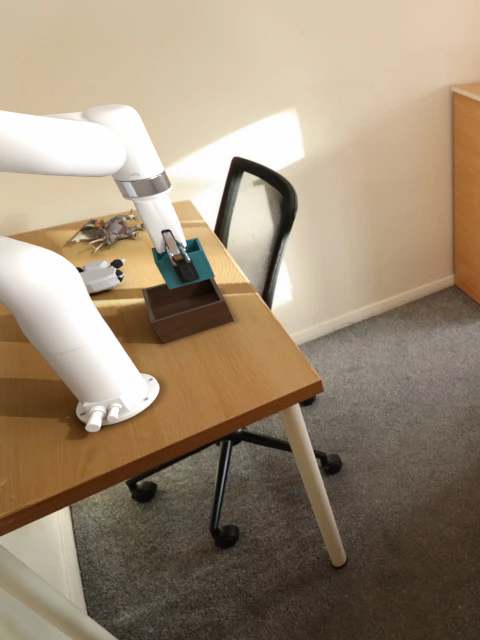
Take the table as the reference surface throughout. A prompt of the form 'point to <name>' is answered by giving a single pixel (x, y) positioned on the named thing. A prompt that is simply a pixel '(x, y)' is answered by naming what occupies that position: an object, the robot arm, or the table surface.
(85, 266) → the robot toy
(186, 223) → the table surface
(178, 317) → the crate
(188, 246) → the box
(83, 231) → the figurine
